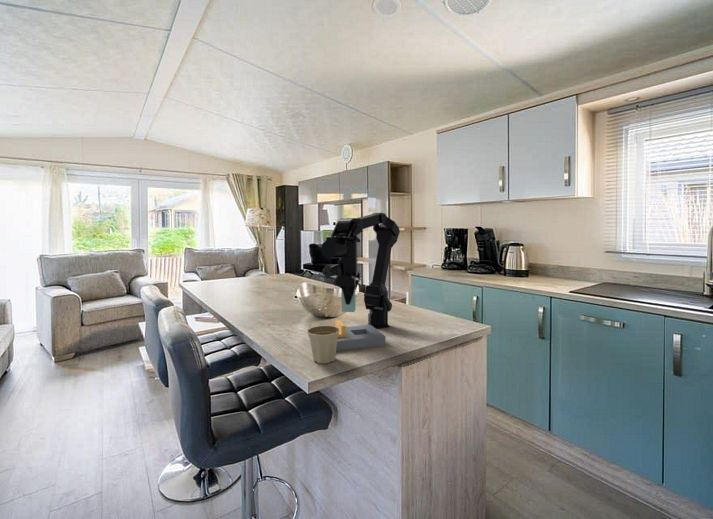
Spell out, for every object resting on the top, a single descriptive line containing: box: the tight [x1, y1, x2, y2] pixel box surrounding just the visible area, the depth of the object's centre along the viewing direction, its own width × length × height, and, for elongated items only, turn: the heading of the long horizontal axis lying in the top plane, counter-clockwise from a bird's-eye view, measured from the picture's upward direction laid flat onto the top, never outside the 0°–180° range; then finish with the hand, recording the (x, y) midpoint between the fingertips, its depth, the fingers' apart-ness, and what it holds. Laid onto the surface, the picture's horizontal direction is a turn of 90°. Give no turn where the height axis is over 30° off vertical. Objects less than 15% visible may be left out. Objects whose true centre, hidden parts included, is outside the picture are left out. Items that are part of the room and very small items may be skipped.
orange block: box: [334, 319, 347, 338], centre depth 116 cm, size 8×8×4 cm
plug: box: [341, 289, 356, 313], centre depth 121 cm, size 4×4×9 cm
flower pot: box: [306, 325, 340, 364], centre depth 102 cm, size 9×9×9 cm
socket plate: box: [336, 324, 386, 352], centre depth 118 cm, size 20×14×3 cm
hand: (348, 303), depth 121 cm, fingers closed on plug, 4 cm apart
